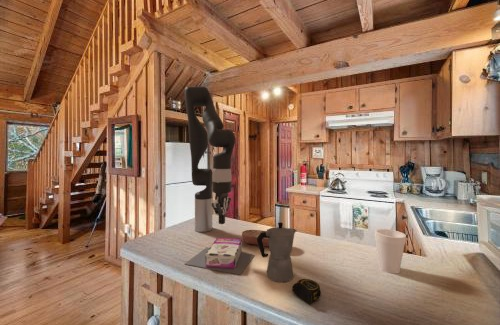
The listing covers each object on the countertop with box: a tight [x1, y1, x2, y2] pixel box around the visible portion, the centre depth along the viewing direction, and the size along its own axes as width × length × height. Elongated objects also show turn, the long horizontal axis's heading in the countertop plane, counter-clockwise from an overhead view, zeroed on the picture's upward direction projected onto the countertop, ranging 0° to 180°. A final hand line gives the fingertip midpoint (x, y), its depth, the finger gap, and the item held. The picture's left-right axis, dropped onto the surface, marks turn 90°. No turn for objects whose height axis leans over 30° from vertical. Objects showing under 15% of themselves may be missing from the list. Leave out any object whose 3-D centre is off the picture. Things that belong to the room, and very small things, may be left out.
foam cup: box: [374, 228, 407, 274], centre depth 81 cm, size 10×9×13 cm
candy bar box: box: [205, 237, 243, 268], centre depth 89 cm, size 11×5×16 cm
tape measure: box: [291, 278, 322, 305], centre depth 65 cm, size 7×7×4 cm
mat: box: [184, 246, 255, 276], centre depth 88 cm, size 16×22×1 cm
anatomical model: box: [241, 229, 269, 248], centre depth 103 cm, size 23×10×5 cm, turn 67°
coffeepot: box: [257, 221, 297, 283], centre depth 76 cm, size 15×9×18 cm, turn 116°
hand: (221, 223), depth 90 cm, fingers closed
